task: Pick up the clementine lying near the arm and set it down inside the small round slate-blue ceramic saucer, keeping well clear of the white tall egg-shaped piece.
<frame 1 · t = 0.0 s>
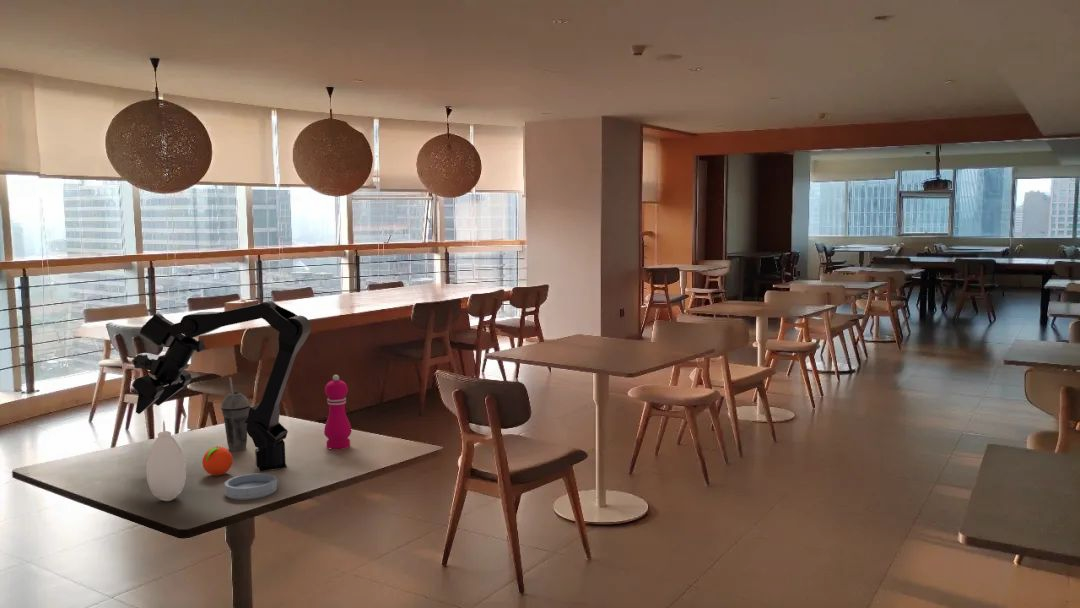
hand: (147, 408, 206), 15 cm above the table, tool tilted 35°, fingers open, 9 cm apart
white tall egg-shaped piece: (168, 500, 182), on the table
beverage cup: (237, 449, 223), on the table
saucer: (251, 491, 187), on the table
pepper mill: (338, 447, 224), on the table
clementine: (217, 476, 200), on the table
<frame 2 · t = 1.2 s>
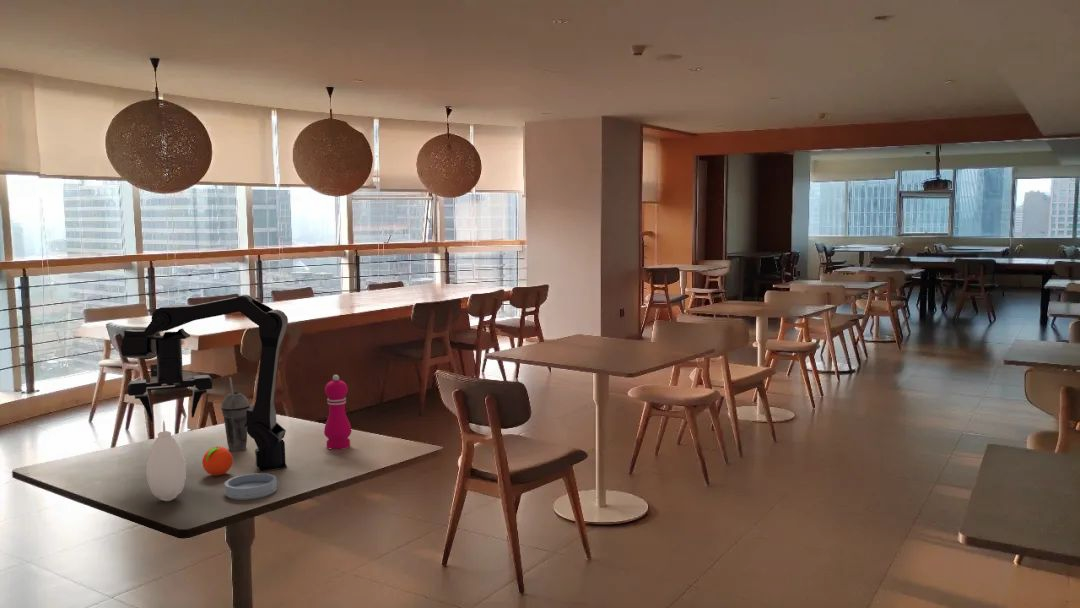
hand: (172, 419, 203), 13 cm above the table, tool pointing down, fingers open, 9 cm apart
nothing on the table moved.
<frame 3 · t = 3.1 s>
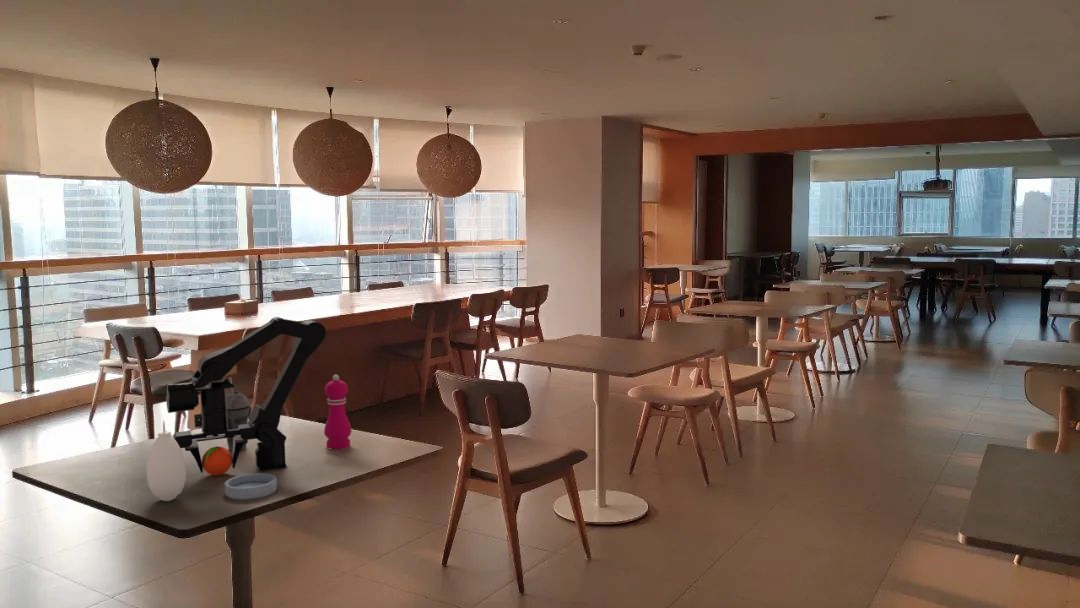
hand: (217, 470, 200), 1 cm above the table, tool pointing down, fingers closed on clementine, 7 cm apart
clementine: (216, 476, 200), on the table, touching gripper
everything else where it was.
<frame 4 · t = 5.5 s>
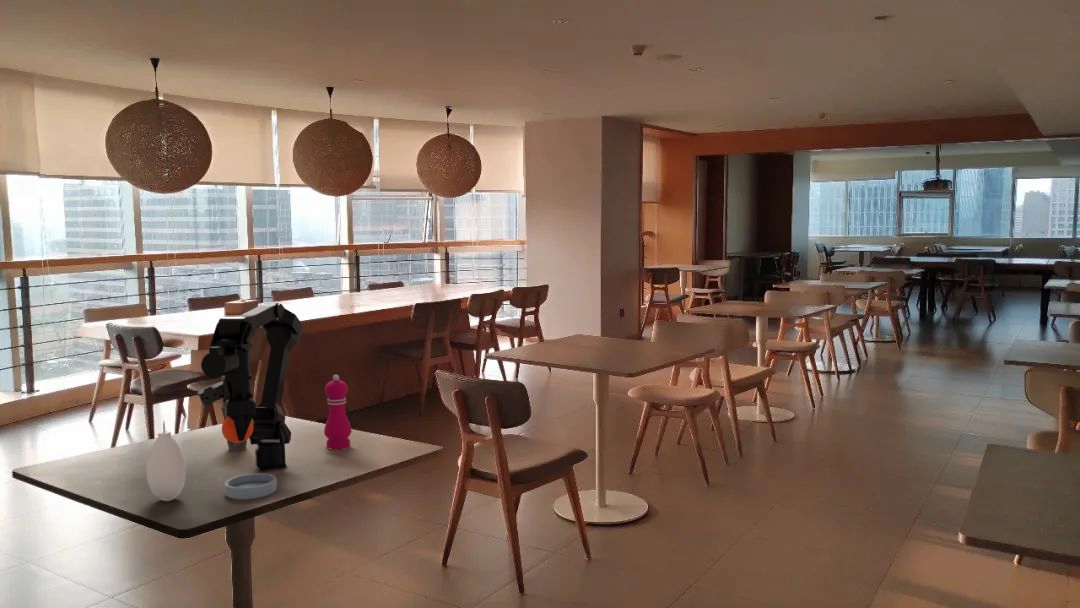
hand: (239, 437, 190), 12 cm above the table, tool pointing down, fingers closed on clementine, 7 cm apart
clementine: (240, 443, 190), point 10 cm above the table, touching gripper
everything else where it was.
when the fingers open (4 cm above the table, at t = 7.7 s): clementine drops 2 cm, resting on saucer.
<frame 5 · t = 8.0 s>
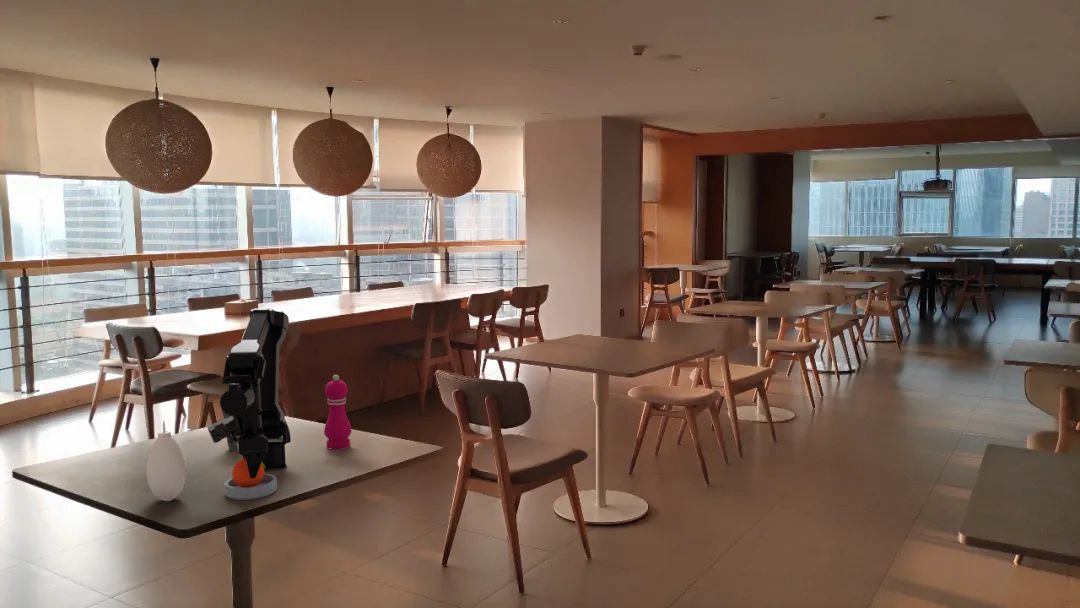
hand: (250, 472, 187), 4 cm above the table, tool pointing down, fingers open, 9 cm apart
clementine: (251, 488, 187), point 1 cm above the table, touching saucer
everything else where it was.
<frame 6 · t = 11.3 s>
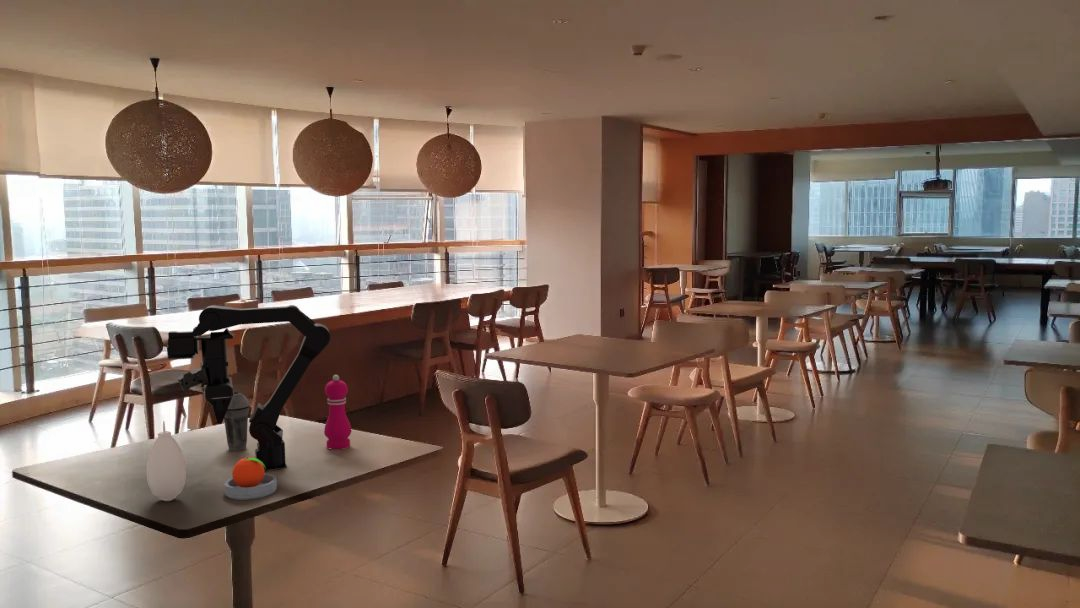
hand: (217, 420, 202), 13 cm above the table, tool pointing down, fingers open, 9 cm apart
nothing on the table moved.
at the end: clementine 0.2 cm from the saucer (horizontally); clementine touching saucer; the gripper is holding nothing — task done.
